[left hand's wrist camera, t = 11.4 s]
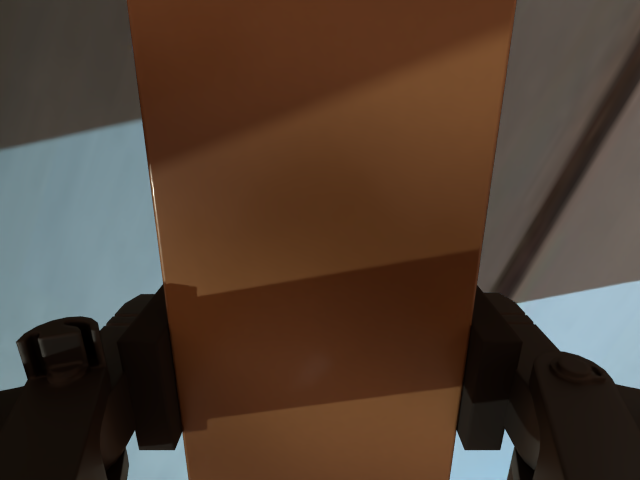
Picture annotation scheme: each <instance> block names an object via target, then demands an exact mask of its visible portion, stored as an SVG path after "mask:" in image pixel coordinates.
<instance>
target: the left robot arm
mask: <svg viewBox="0 0 640 480" xmlns="http://www.w3.org/2000/svg"><path fill="white" fill-rule="evenodd" d="M16 344H17V347H18V350H19V353H20V356H21V359H22V363H23V366H24V369H25V372H26V375H27V379H28V380H27V382H26V384H25V386H22V387H18V388H13V389H8V390H3V391H0V480H127V476H128V468H129V462H128V455H127V451H126V446H127V444H128V442H129V440H130V438H131V436H132V435H133V433H134V431H135V432H136V437H137V441H138V446H139V450H175V448H176V446H177V443H178V441H179V438H180V436H181V433H182V425H181V417H180V409H179V401H178V394H177V386H176V378H175V370H174V363H173V355H172V347H171V339H170V332H169V324H168V316H167V308H166V301H165V293H164V285H162V286H161V287H160V289H159V290H158V291H157V292H156V294H140V295H139V296H137V297H135V298H133V299H132V300H130V301H128V302H127V303H125V304H124V305H123V306H122V307H121V308H120V309H119V310H118V312H117V313H116V314H115V317H112V318H111V319H110V320H109V321H108V322H107V324H106V326H104V327H103V328H102V329H101V330H100V331H99V326H98V323H97V322H96V321H95V320H93V319H92V318H87V317H81V316H80V317H66V318H62V319H57V320H53V321H50V322H47V323H44V324H42V325H39V326H37V327H35V328H33V329H32V330H30V331H28V332H26V333H25V334H24V335H23V336H21V337H20V338H19V339H18V340H17V341H16ZM504 430H506V431H507V433H508V435H509V437H510V439H511V441H512V442H513V444H514V451H513V455H512V460H511V464H510V469H509V473H508V477H507V480H640V389H636V388H631V387H626V386H621V385H617V384H615V383H614V381H613V379H612V378H611V377H610V376H609V374H608V373H607V372H606V371H605V370H604V369H603V368H601V367H600V366H598V365H597V364H595V363H594V362H592V361H590V360H588V359H585V358H583V357H581V356H579V355H575V354H571V353H567V352H561V351H560V350H559V349H558V348H557V347H556V346H555V345H554V344H553V343H552V342H551V341H550V340H549V339H548V337H547V336H546V335H545V334H544V333H543V332H542V331H541V330H540V329H539V328H538V327H537V326H536V324H533V321H532V320H531V319H530V318H529V317H528V316H527V315H525V312H524V311H523V310H522V309H521V308H520V307H519V306H518V305H517V304H516V303H515V302H514V301H512V300H510V299H509V298H507V297H505V296H504V295H502V294H500V293H483V292H482V291H481V289H480V288H479V287H478V286H477V287H476V294H475V301H474V308H473V316H472V323H471V330H470V337H469V344H468V351H467V358H466V365H465V373H464V380H463V387H462V394H461V401H460V408H459V415H458V422H457V432H458V434H459V437H460V439H461V442H462V444H463V447H464V449H465V450H500V449H501V444H502V439H503V434H504Z"/></svg>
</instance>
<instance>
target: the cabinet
mask: <svg viewBox="0 0 640 480" xmlns="http://www.w3.org/2000/svg"><path fill="white" fill-rule="evenodd" d="M516 2H517V0H127V7H128V14H129V22H130V30H131V38H132V45H133V53H134V61H135V68H136V76H137V84H138V92H139V99H140V107H141V115H142V123H143V130H144V138H145V146H146V154H147V161H148V169H149V177H150V185H151V192H152V200H153V208H154V216H155V223H156V231H157V239H158V246H159V254H160V262H161V270H162V277H163V285H164V293H165V301H166V308H167V316H168V324H169V332H170V339H171V347H172V355H173V363H174V370H175V378H176V386H177V394H178V401H179V409H180V417H181V425H182V432H183V440H184V448H185V455H186V463H187V471H188V479H189V480H449V479H450V472H451V465H452V458H453V451H454V444H455V437H456V430H457V422H458V415H459V408H460V401H461V394H462V387H463V380H464V373H465V365H466V358H467V351H468V344H469V337H470V330H471V323H472V316H473V308H474V301H475V294H476V287H477V280H478V273H479V266H480V258H481V251H482V244H483V237H484V230H485V223H486V216H487V209H488V201H489V194H490V187H491V180H492V173H493V166H494V159H495V152H496V144H497V137H498V130H499V123H500V116H501V109H502V102H503V95H504V87H505V80H506V73H507V66H508V59H509V52H510V45H511V37H512V30H513V23H514V16H515V9H516Z"/></svg>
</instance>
